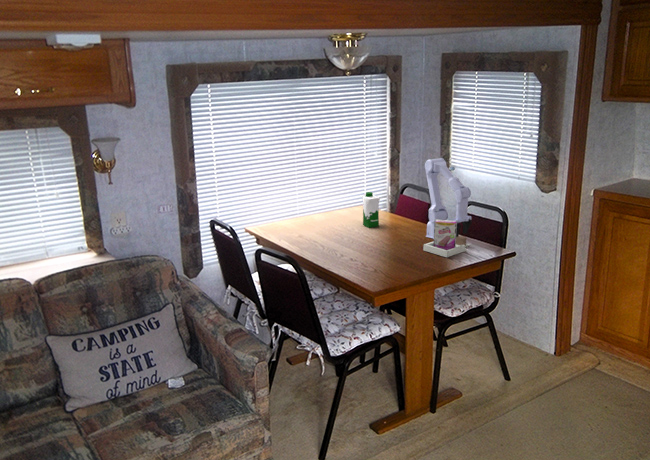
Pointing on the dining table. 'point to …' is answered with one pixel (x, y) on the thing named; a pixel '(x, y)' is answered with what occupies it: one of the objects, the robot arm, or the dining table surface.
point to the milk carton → (370, 210)
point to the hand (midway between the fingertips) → (460, 235)
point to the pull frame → (446, 253)
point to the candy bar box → (445, 234)
